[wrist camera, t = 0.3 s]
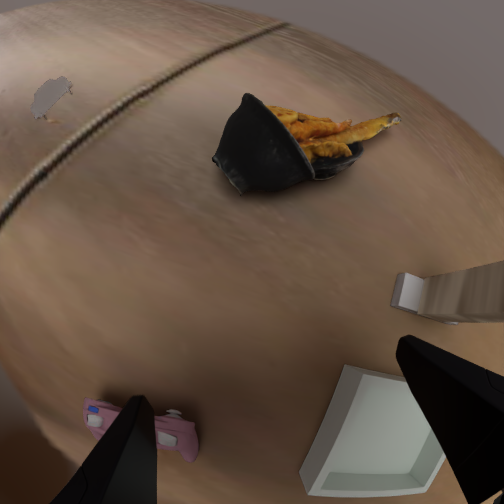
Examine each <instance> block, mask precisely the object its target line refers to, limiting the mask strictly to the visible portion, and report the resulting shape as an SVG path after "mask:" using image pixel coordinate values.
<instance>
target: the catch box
mask: <svg viewBox="0 0 504 504" xmlns="http://www.w3.org/2000/svg"><path fill="white" fill-rule="evenodd" d="M445 458H446V456H445V454H444V452H443V450H442V448H441V446H440V444H439V442H438V440H437V438H436V436H435V434H434V433H433V431H432V429H431V427H430V425H429V423H428V421H427V420H426V418H425V416H424V414H423V412H422V411H421V409H420V407H419V405H418V403H417V402H416V400H415V398H414V396H413V395H412V393H411V391H410V389H409V387H408V384H407V382H406V380H405V377H402V376H397V375H392V374H387V373H382V372H377V371H373V370H368V369H364V368H359V367H355V366H351V365H346V364H344V367H343V370H342V373H341V376H340V378H339V381H338V384H337V386H336V389H335V392H334V394H333V397H332V399H331V402H330V404H329V407H328V409H327V412H326V414H325V417H324V419H323V421H322V424H321V426H320V428H319V430H318V433H317V435H316V437H315V439H314V442H313V444H312V446H311V448H310V450H309V452H308V454H307V456H306V458H305V460H304V462H303V464H302V466H301V468H300V470H299V474H300V477H301V480H302V482H303V485H304V487H305V490H306V493H307V495H313V496H327V497H384V496H398V495H408V494H417V493H424V492H426V491H427V489H428V488H429V486H430V484H431V483H432V481H433V479H434V478H435V476H436V474H437V472H438V471H439V469H440V467H441V465H442V463H443V461H444V460H445Z"/></svg>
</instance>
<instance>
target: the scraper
mask: <svg viewBox="0 0 504 504" xmlns="http://www.w3.org/2000/svg"><path fill="white" fill-rule="evenodd" d="M390 306H393V307H396V308H399V309H402V310H405V311H408V312H411V313H414V314H418V315H421V316H424V317H427V318H430V319H433V320H436V321H439V322H443V323H446V324H449V325H458V322H473V323H489V322H504V260H503V261H499V262H495V263H491V264H487V265H483V266H478V267H474V268H470V269H465V270H461V271H456V272H451V273H447V274H442V275H437V276H432V277H427V278H425V280H423V279H421V278H418V277H416V276H413V275H411V274H408V273H402V274H398V275H397V280H396V284H395V289H394V293H393V297H392V301H391V305H390Z"/></svg>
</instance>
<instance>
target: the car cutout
mask: <svg viewBox="0 0 504 504" xmlns="http://www.w3.org/2000/svg"><path fill="white" fill-rule="evenodd" d="M71 84H72V83H71V81H70V82H68V80H67V78H66V77H64V76H61V77H59V78H58V79H57V80H53V79H49V80H48V81H46V82H45V83H44V84H43V85H42V86H41V87H40V88H39V89H38V90H37V91H36V93H35V94H34V100H35V101H34V102H33V104H32V105H31V112H32V113H33V114H34V115H35V117H34V118H35V119H37V118H38V117H42V116H43V115H44V114H45V113H46V112H47V111H48V110H49V109H50V108H51V107H52V106H53V105H54V104H55V103H56V102H57V101H58V100H59V99H60V98H61V97H62V96H63V95H64V94H65V93H66V92H67V91H68V92H70V93H71V91H70V90H69V86H70V85H71ZM71 94H72V93H71ZM46 120H47V119H46Z"/></svg>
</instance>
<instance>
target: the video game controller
mask: <svg viewBox="0 0 504 504" xmlns="http://www.w3.org/2000/svg"><path fill="white" fill-rule="evenodd" d="M122 409H123V408H120V407H117V406H113V405H112V403H109V402H106V401H102V400H99V399H98V400H93V399H89V398H85V400H84V405H83V417H84V422H85V424H86V426H87V427H88V428H89V429H90V430H91V432H92V433H93V435H94V436H95V438H96V439H97V440H98V441H99V440H100V439H101V437H102V436H103V435H104V433H105V432H106V430H107V429H108V428H109V426H110V425H111V424H112V422H113V421H114V419H115V418H116V417H117V415H118V414H119V413H120V411H121V410H122ZM166 412H169V413H170V414H168V415H164V416H154V417H155V431H156V443H157V448H158V449H164V450H175V451H179V452H180V453H181V455H182V456H183V458H184V460H185V461H187V462H193V461H195V459H196V457H197V455H198V450H199V442H198V437H197V434H196V431H195V429H194V427H195V423H194V422H189V421H186V420H184V419H182V418H181V417H180V416H178V415H177V414H182V413H180V412H179V411H178V410H173V409H170V410H167V411H166Z"/></svg>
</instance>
